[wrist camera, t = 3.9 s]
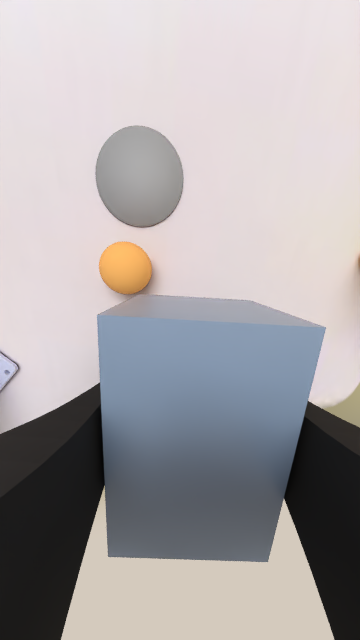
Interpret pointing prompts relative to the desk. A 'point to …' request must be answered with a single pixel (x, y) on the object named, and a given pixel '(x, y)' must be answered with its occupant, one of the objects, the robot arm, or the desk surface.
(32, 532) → the robot arm
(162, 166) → the rest mark
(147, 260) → the ball
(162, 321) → the blue-grey rectangular block
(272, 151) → the desk surface
